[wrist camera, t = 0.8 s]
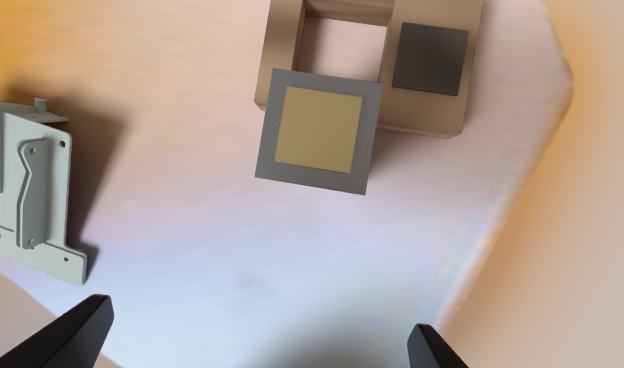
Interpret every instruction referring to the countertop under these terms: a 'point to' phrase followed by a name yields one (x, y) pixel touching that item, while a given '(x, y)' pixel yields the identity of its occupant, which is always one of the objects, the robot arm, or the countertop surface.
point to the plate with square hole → (393, 56)
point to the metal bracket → (36, 192)
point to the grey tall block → (319, 131)
